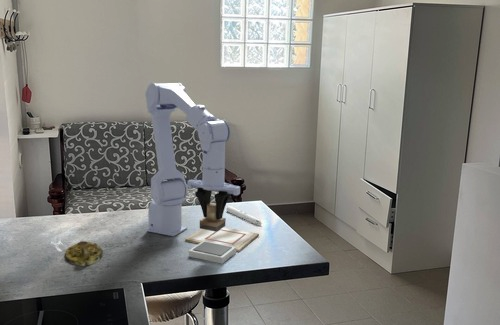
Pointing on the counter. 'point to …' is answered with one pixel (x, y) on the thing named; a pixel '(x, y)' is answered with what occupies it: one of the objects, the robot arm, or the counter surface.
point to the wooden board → (224, 237)
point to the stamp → (212, 219)
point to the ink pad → (212, 252)
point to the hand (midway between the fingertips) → (212, 217)
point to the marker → (244, 215)
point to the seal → (84, 253)
